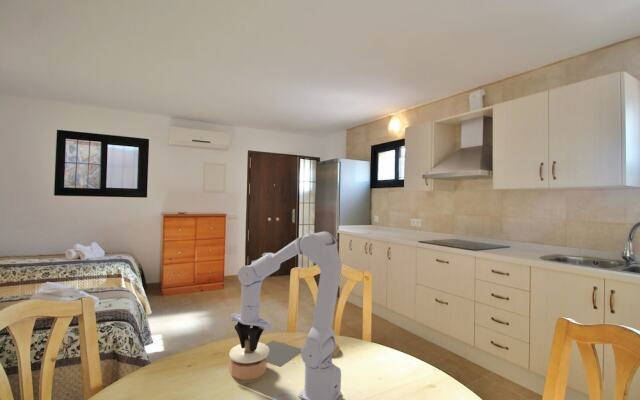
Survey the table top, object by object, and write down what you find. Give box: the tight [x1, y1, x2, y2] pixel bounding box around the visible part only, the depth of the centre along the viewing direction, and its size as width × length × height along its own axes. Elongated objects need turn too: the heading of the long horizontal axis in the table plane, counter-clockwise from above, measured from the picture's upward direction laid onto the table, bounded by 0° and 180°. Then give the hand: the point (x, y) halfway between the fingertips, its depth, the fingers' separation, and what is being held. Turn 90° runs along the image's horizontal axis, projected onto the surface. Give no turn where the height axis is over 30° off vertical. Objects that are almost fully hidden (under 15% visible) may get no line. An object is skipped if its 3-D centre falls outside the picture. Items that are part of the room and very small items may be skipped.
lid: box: [228, 338, 269, 363], centre depth 100 cm, size 12×12×4 cm
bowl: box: [228, 357, 268, 381], centre depth 100 cm, size 11×11×4 cm
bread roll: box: [332, 343, 341, 357], centre depth 114 cm, size 8×9×4 cm
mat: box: [265, 340, 302, 368], centre depth 112 cm, size 14×14×1 cm
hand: (248, 348), depth 100 cm, fingers closed on lid, 3 cm apart
